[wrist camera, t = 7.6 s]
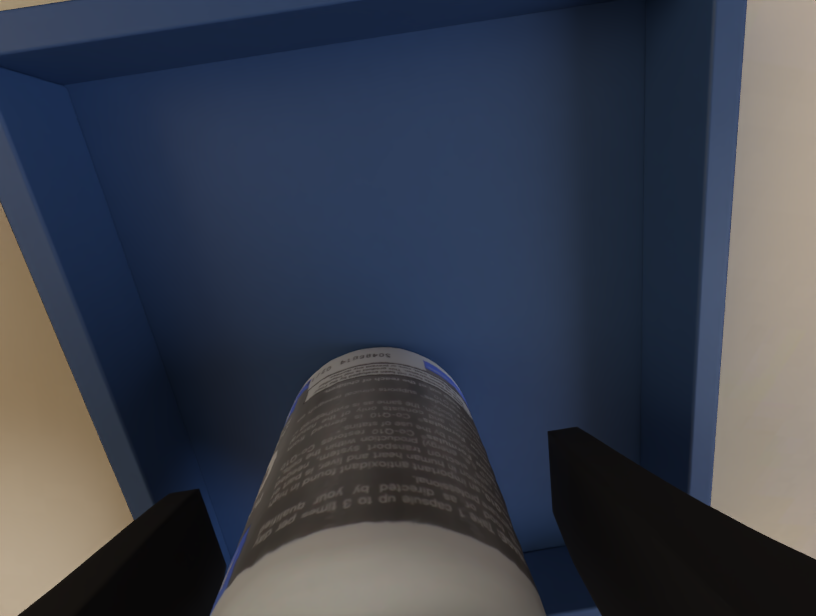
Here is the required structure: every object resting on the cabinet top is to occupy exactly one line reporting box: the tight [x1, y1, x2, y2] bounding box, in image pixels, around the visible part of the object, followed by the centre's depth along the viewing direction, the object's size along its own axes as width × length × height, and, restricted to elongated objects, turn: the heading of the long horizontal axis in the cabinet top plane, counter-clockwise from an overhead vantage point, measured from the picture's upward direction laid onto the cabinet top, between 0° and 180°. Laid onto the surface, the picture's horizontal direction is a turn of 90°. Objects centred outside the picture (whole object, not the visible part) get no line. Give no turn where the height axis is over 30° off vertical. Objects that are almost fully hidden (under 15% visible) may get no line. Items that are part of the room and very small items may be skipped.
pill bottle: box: [210, 347, 546, 616], centre depth 7 cm, size 5×5×8 cm
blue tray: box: [0, 0, 747, 616], centre depth 10 cm, size 15×13×3 cm
